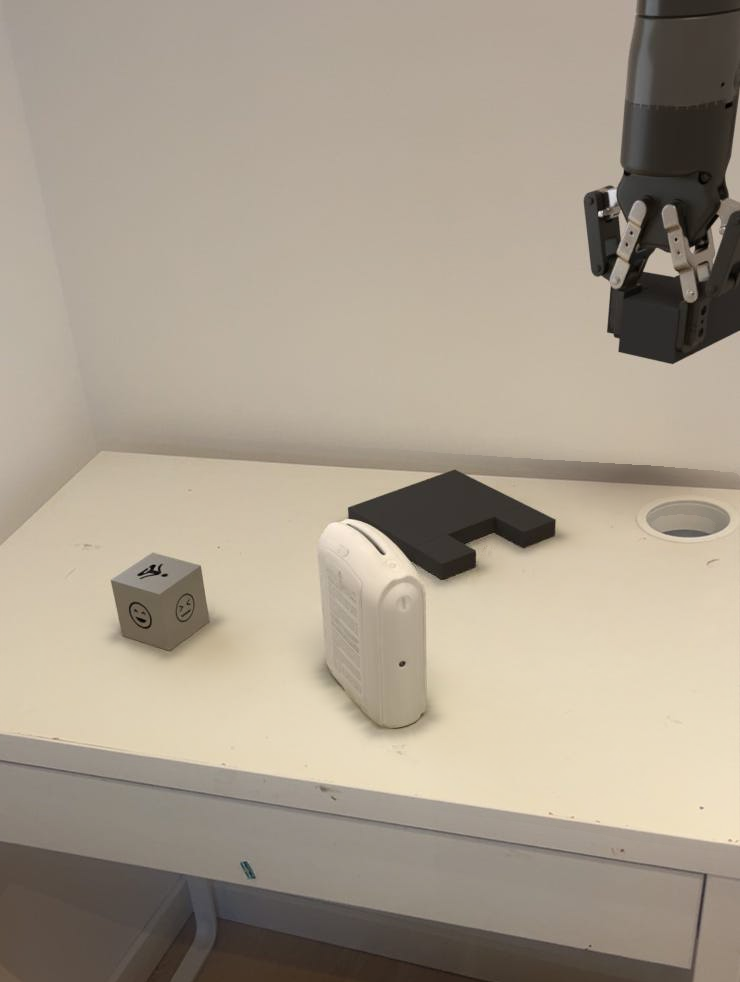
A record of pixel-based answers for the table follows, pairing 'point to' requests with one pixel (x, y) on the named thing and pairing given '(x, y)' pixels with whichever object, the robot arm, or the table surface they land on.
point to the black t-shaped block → (669, 319)
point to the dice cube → (160, 601)
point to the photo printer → (373, 622)
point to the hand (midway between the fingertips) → (655, 341)
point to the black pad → (450, 520)
